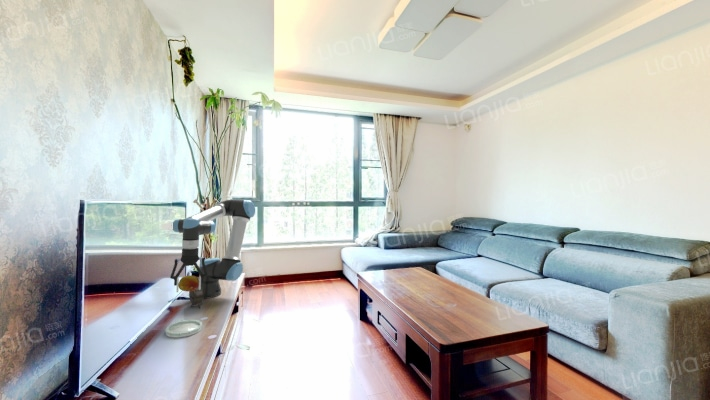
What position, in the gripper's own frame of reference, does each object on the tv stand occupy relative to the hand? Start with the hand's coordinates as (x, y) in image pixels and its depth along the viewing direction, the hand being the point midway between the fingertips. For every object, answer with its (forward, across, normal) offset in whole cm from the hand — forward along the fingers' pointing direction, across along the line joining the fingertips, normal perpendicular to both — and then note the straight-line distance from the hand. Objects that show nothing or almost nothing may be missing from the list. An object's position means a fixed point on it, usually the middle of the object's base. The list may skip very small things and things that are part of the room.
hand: (188, 290), depth 148 cm
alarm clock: (+15, +4, +15) cm, 21 cm away
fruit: (+1, 0, 0) cm, 1 cm away
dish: (+14, -1, -15) cm, 21 cm away
